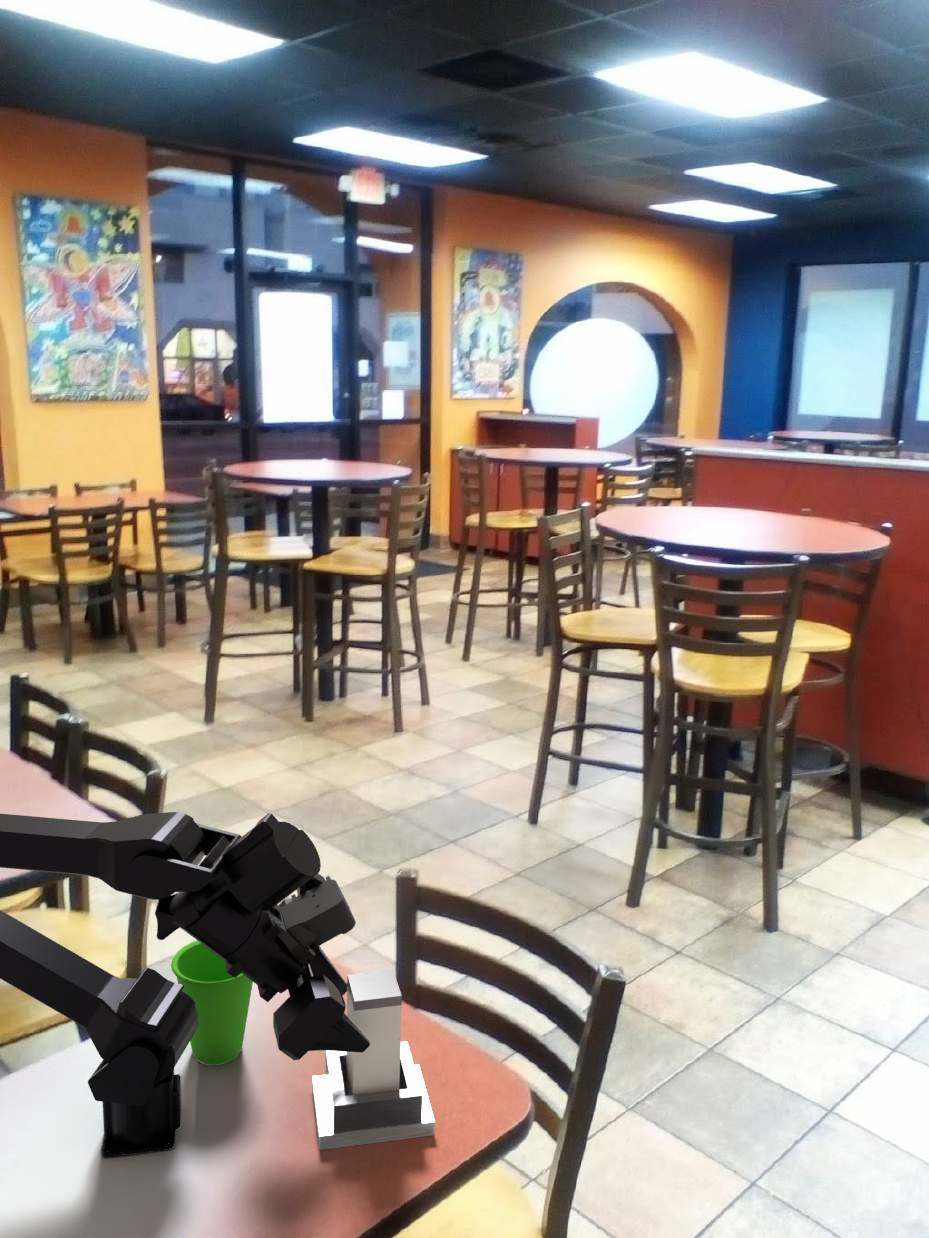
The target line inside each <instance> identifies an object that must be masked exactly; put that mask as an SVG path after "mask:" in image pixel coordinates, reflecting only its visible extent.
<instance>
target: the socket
mask: <svg viewBox="0 0 929 1238" xmlns="http://www.w3.org/2000/svg"><path fill="white" fill-rule="evenodd" d="M410 1048H411V1047H410V1044H409V1042H408V1040H402V1041H401V1043H400V1078H399V1090H392V1091H383V1092H375V1093H366V1094H357V1095H349V1096H348V1094H347V1090H346V1052H345V1051H327V1050H325V1074H322V1075H321V1074H320V1075H312V1096H313V1105H314V1113H315V1122H316V1131H317V1138H318V1146H319V1147H318V1149H319V1150H320V1151H322V1150H323V1151H324V1150H329V1149H330V1150H331V1149H336V1148H337V1149H338V1148H347V1147H355V1146H362V1145H368V1144H377V1143H386V1142H392V1141H393V1142H394V1141H401V1140H407V1139H410V1140H411V1139H417V1138H423V1137H424V1138H425V1137H432V1136H435V1133H436V1132H435V1130H436V1119H435V1117H434V1113H433V1110H432V1106H431V1103H430V1099H429V1095H428V1091H427V1088H426V1084H425V1081H424V1077H423V1074H422V1071H421V1066H420V1064H415V1062H414V1060H413V1055H412V1051H411V1049H410Z"/></svg>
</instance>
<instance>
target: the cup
mask: <svg viewBox="0 0 929 1238" xmlns="http://www.w3.org/2000/svg"><path fill="white" fill-rule="evenodd" d="M170 966H171V971H172V973H174V975H175V976H176V980H177V984H182V985H184V988H183V990H182V991H183V992H185V993H186V994H187V995H189V996H190V997H191V998H192V999H193V1000H194V1002H195V1003H196V1006H195V1007H196V1009H197V1012H198V1015H199V1024H198V1027H197V1029H196V1032H195V1033H194V1035H193V1037H192V1039H191V1040H190V1042H189V1043H190V1047H191V1052H192V1055H193V1057H194V1058H195V1059H196V1061H198V1062H199V1063H201V1064H203V1065H208V1066H219V1065H223V1064H227V1063H229V1062H233V1060H234V1059H236V1058H237V1057H238V1055H239V1054H240V1052H241V1050H242V1049H243V1045H244V1039H245V1034H246V1033H245V1032H246V1026H247V1020H248V1014H249V1013H248V1012H249V1008H250V1001H251V996H252V989H253V983H254V982H253V981H251V980H250V979H249V978H247V977H246V976H245V975H243V974H242V973H240V974H239V975H238V976H237V977H236V978H234V977H233V976H231V975H230V974H229V973H227V970H226V965H225V961H224V960H223V959H222V958H220V957H219V956H218V955H216V954H215V953H214V952H212V951H211V950H210V949H208V948H207V947H206V946H204V945H203V944H202V943H200V942H199V941H198V940H194V941H192V942H190V943H187V944H186V945H184V946H182V948H180V949H179V950H177V952H175V954H174V956H173V957H172V960H171V963H170Z"/></svg>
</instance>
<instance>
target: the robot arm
mask: <svg viewBox="0 0 929 1238" xmlns="http://www.w3.org/2000/svg"><path fill="white" fill-rule="evenodd" d="M321 865H322V864H321V858H320V855H319V852H318V850H317V847H316V846H315V844H314V843H313V840H312V838H310V837H309V835H308V834H307V833H306V832H305V831H304V829H299V828H298V827H297V826H295V825H294V824H292V823H290V822H287V821H279V820H278V819H277V818H276V816H275V815H274V814H273V813H271V812H268V813H266V815H264V816H262V818H260V820H259V821H258V822H257V823H256V824H255V825H254V827H252V829H250V830H249V831H248V832H246V833H245V834H244V835H240V834H238V833H235V832H231V831H227V830H223V829H219V828H216V827H213V826H208V825H204V824H201V823H197V822H196V821H195V820H194V818H193V817H192V816H190V815H188V814H186V813H183V812H179V811H171V812H170V811H169V812H157V813H146V814H143V813H142V814H139V815H135V816H131V817H128V818H123V819H120V820H115V821H105V822H102V821H101V822H99V821H89V820H79V819H78V820H77V819H67V818H56V817H43V816H34V815H32V816H30V815H22V814H12V813H11V814H8V813H0V868H1V869H12V870H22V871H35V872H44V873H54V874H55V873H56V874H65V875H66V874H68V875H76V876H77V875H79V876H87V877H91V878H95V879H99V880H101V881H102V882H104V884H106V885H108V886H109V887H110V888H112V889H113V890H114V891H117V892H119V893H124V894H127V895H131V896H134V897H139V898H142V899H147V900H151V901H152V900H153V901H157V904H156V907H155V910H154V915H155V919H156V923H157V927H156V928H157V929H156V938H157V940H159V941H163V940H165V939H166V938H168V937H170V935H171V934H173V933H174V932H176V931H177V930H178V929H182V930H183V931H184V932H185V933H187V934H188V935H189V936H190V937H192V938H193V939H195V941H197V940H198V941H199V942H200V943H202V944H203V945H204V946H206V947H207V948H208V949H210V950H211V951H212V952H214V953H215V954H216V955H218V956H219V957H220V958H222V959H223V960H224V961H225V965H226V970H227V973H229V974H230V975H231V976H233V977H234V978H236V977H237V976H238V975H239V974H240V973H242V974H243V975H245V976H246V977H247V978H249V979H250V980H251V981H253V983H254V984H255V985H257V989H258V990H257V991H258V994H259V997H260V998H261V999H262V1000H264V1001H265V1002H266V1003H269V1002H270V1001H271V1000H272V999H273V998H274V997H275V996H276V995H277V994H278V993H279V994H283V993H285V992H286V991H288V994H289V997H287V998H286V1000H285V1001H283V1003H282V1004H281V1005H280V1006H279V1007H277V1009H276V1010H275V1011H274V1012H273V1015H272V1016H273V1017H272V1019H273V1022H272V1023H273V1025H272V1027H273V1031H274V1034H275V1039H276V1044H277V1048H278V1051H280V1052H281V1053H283V1054H284V1055H286V1057H288V1058H289V1059H291V1060H293V1061H300V1060H301V1059H302V1058H303V1057H304V1056H305V1055H306V1054H307V1053H308V1052H313V1051H314V1052H315V1051H318V1052H319V1051H326V1050H327V1051H345V1052H360V1053H362V1052H364V1051H365V1050H366V1049H367V1048H368V1047H369V1046H370V1042H369V1040H368V1039H367V1038H366V1037H365V1036H364V1035H363V1033H362V1032H361V1031H360V1030H359V1029H358V1028H357V1027H356V1025H355V1024H354V1023H353V1022H352V1021H351V1020H350V1019H349V1018H348V1017H347V1013H345V1012H346V1010H347V1004H346V1001H345V999H344V997H343V996H344V995H345V994H347V981H346V980H345V979H344V978H343V976H342V975H341V973H340V972H339V970H337V968H336V967H335V965H334V964H333V963H332V961H331V960H330V958H329V957H328V956H327V954H326V953H325V952H324V950H323V949H322V947H321V945H323V944H325V943H327V942H328V941H331V940H332V939H334V938H336V937H337V936H339V935H345V934H348V933H349V932H350V931H351V930H354V928H355V926H356V919H355V916H354V915H353V913H352V910H351V908H350V905H349V903H348V902H347V900H346V898H345V896H344V894H343V892H342V890H341V887H340V886H339V884H338V882H337V880H336V879H332V878H331V876H330V875H326V877H324V876H323V875H321V874H320V871H321V867H322V866H321ZM294 892H296V893H297V895H296V894H295V893H294ZM290 895H291V896H290ZM289 896H290V897H291V898H287V897H289ZM0 980H2V981H3V982H5V983H6V984H9V985H10V986H12V987H14V988H16V989H17V990H19V991H21V992H22V993H25V994H26V995H27V996H29V997H31V998H33V999H35V1000H36V1001H38V1002H39V1003H41V1004H44V1005H45V1006H47V1007H48V1008H50V1009H52V1010H53V1011H55V1012H57V1013H59V1014H60V1015H63V1016H64V1017H66V1018H68V1019H69V1020H71V1021H73V1022H75V1023H76V1024H78V1025H80V1026H81V1027H82V1028H84V1029H85V1030H86V1032H87V1034H88V1036H89V1038H90V1040H91V1042H92V1044H93V1045H94V1047H95V1049H96V1051H97V1053H98V1055H99V1056H100V1058H101V1059H102V1061H101V1062H100V1063H99V1065H98V1066H97V1067H96V1069H95V1071H93V1073H92V1074H91V1076H90V1078H89V1079H88V1080H87V1085H88V1087H89V1089H90V1092H91V1093H92V1096H93V1098H94V1100H95V1101H96V1102H102V1120H103V1122H102V1123H103V1137H102V1143H101V1149H100V1154H101V1155H100V1156H101V1157H102V1158H112V1157H121V1156H130V1155H136V1154H145V1153H153V1152H154V1153H155V1152H161V1151H169V1150H172V1149H173V1148H175V1143H176V1130H179V1129H180V1128H181V1125H182V1079H181V1075H180V1074H175V1067H176V1065H177V1064H178V1062H179V1061H180V1059H181V1057H182V1055H183V1054H184V1052H185V1050H186V1048H187V1046H188V1045H189V1043H190V1040H191V1039H192V1037H193V1035H194V1033H195V1032H196V1029H197V1027H198V1024H199V1015H198V1012H197V1009H196V1007H195V1006H196V1003H195V1002H194V1000H193V999H192V998H191V997H190V996H189V995H187V994H186V993H185V992H183V991H182V990H183V988H184V985H182V984H178V982H177V983H176V982H173V981H171V980H169V979H168V978H166V977H164V976H163V975H161V974H160V973H159V971H157V970H156V969H153V968H150V967H144V969H143V970H142V971H141V973H140V974H139V976H138V977H137V978H135V977H133V978H129V977H118V976H116V975H113V974H112V973H110V972H108V971H106V970H104V969H103V968H102V967H100V966H98V965H96V964H94V963H92V962H91V961H89V960H87V959H86V958H85V957H82V956H81V955H79V954H77V953H75V952H74V951H72V950H70V949H68V948H67V947H65V946H64V945H61V944H60V943H58V942H57V941H55V940H53V939H51V938H49V937H47V936H46V935H44V934H42V933H41V932H39V931H37V930H36V929H34V928H32V927H30V926H29V925H27V924H25V923H24V922H22V921H20V920H18V919H17V918H15V917H13V916H11V915H10V914H8V913H7V912H4V911H3V910H2V909H0Z"/></svg>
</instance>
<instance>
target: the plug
mask: <svg viewBox="0 0 929 1238" xmlns="http://www.w3.org/2000/svg"><path fill="white" fill-rule="evenodd" d="M346 977H347V978H346V979H347V980H346V983H347V992H346V1016H347V1017H348V1018H349V1019H350V1020H351V1021H352V1022H353V1023H354V1024H355V1025H356V1027H357V1028H358V1029H359V1030H360V1031H361V1032H362V1033H363V1035H364V1036H365V1037H366V1038H367V1039H368V1040H369V1042H370V1046H369V1047H368V1048H367V1049H366V1050H365V1051H364V1052H362V1053H360V1052H346V1090H347V1094H348V1096H349V1095H357V1094H366V1093H375V1092H383V1091H392V1090H399V1078H400V1043H401V1042H402V1041H401V1037H402V1036H401V1035H402V1004H403V1003H402V1001H403V999H402V998H403V995H402V992H401V990H400V987H399V984H398V981H397V980H398V979H397V978H396V975H395V972H394V970H393V969H386V970H378V971H369V972H359V973H351V974H347V976H346Z"/></svg>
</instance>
